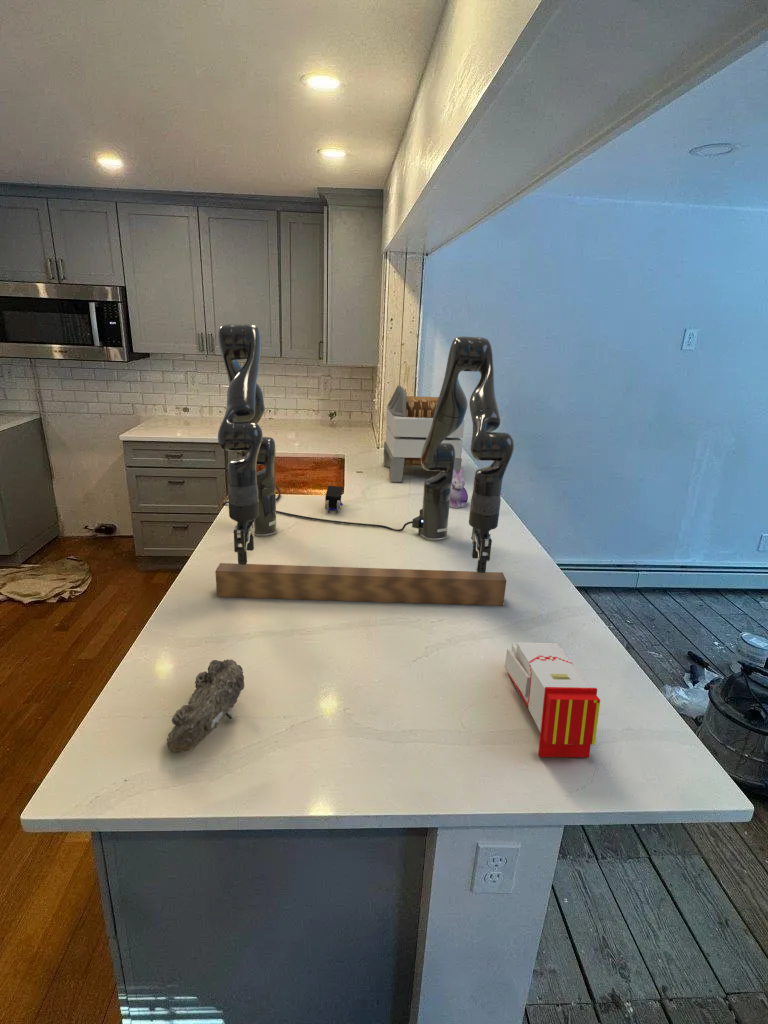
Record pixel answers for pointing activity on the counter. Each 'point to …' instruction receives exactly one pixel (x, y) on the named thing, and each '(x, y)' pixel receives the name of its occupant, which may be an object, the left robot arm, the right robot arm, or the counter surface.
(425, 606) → the counter surface
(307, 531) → the counter surface
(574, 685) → the toy
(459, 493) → the figurine
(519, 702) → the counter surface
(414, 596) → the post
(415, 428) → the transformer
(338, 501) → the figurine character
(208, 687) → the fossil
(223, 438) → the left robot arm
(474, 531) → the right robot arm
